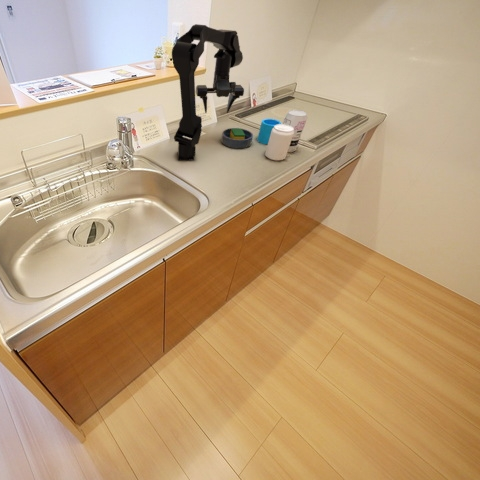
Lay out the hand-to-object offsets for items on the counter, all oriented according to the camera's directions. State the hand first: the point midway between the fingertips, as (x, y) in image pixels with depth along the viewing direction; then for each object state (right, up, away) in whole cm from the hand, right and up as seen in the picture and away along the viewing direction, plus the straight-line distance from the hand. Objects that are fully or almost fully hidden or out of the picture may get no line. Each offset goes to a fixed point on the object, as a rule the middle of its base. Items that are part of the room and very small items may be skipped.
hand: (216, 112), depth 116 cm
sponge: (+10, -10, +6) cm, 16 cm away
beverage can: (+23, -20, -3) cm, 31 cm away
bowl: (+10, -11, +6) cm, 16 cm away
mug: (+26, -8, +9) cm, 29 cm away
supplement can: (+30, -15, +2) cm, 34 cm away
